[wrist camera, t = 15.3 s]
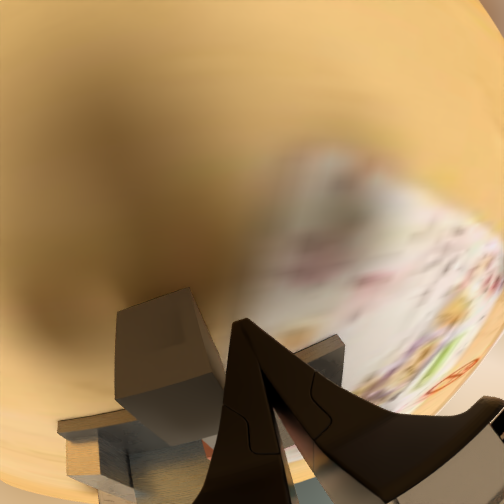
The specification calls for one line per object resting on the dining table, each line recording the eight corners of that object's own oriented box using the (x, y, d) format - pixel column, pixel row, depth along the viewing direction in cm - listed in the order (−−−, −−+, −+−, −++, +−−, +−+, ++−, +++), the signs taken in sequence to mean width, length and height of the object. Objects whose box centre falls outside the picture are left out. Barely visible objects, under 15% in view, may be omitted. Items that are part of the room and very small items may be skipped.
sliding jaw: (270, 451, 22) (286, 485, 18) (240, 462, 21) (254, 496, 18) (188, 286, 10) (211, 372, 7) (117, 311, 10) (114, 399, 6)
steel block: (230, 451, 19) (248, 501, 15) (155, 469, 18) (167, 517, 14) (213, 434, 17) (234, 495, 13) (128, 453, 16) (138, 511, 11)
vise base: (331, 418, 24) (349, 447, 21) (148, 476, 21) (155, 508, 17) (336, 334, 17) (371, 380, 13) (57, 421, 13) (56, 470, 10)
